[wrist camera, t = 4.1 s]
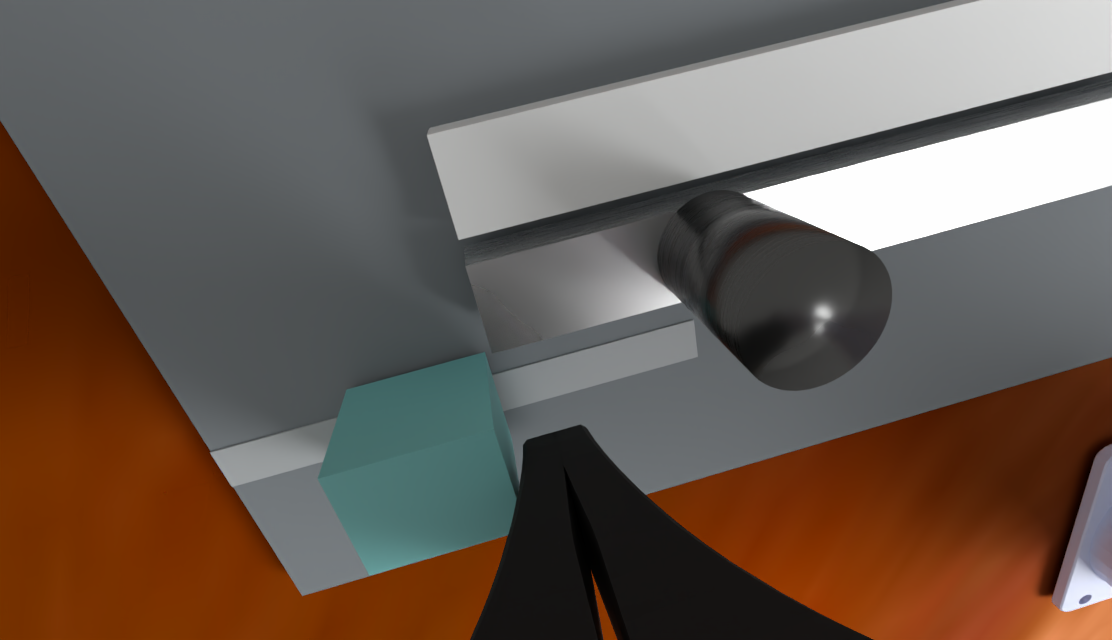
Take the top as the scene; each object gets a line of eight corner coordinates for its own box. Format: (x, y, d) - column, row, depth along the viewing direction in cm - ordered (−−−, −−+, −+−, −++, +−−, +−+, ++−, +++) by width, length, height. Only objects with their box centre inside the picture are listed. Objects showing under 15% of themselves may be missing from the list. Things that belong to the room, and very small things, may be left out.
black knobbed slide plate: (1116, 68, 11) (1466, 69, 7) (1091, 172, 12) (1390, 222, 8) (461, 236, 10) (466, 338, 7) (490, 335, 11) (511, 475, 8)
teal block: (484, 351, 12) (493, 429, 9) (511, 438, 13) (526, 529, 10) (346, 389, 12) (317, 479, 9) (385, 474, 13) (369, 575, 10)
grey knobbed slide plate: (1391, -423, 9) (1670, -568, 7) (1151, 329, 16) (1259, 369, 14) (-121, -121, 8) (-335, -192, 6) (307, 576, 14) (283, 665, 12)
